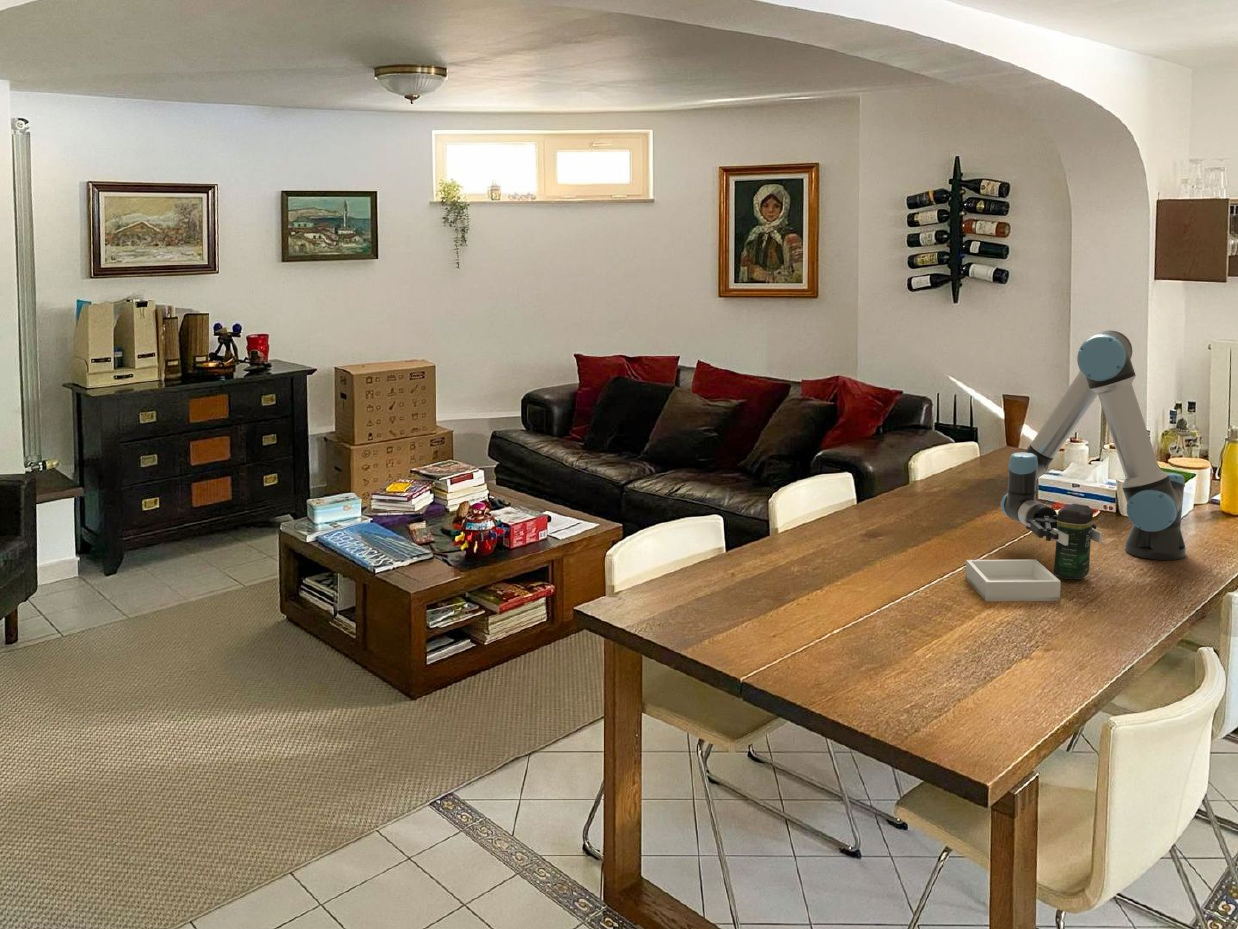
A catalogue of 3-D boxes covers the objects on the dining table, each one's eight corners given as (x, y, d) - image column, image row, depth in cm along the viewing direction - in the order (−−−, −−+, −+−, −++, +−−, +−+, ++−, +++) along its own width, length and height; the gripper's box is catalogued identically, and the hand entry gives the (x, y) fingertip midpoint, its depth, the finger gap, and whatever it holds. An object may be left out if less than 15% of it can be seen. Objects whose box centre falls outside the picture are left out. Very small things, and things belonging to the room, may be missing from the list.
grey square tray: (1034, 577, 281) (1035, 559, 280) (1059, 600, 263) (1060, 581, 262) (965, 578, 282) (966, 560, 281) (985, 601, 264) (986, 582, 263)
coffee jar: (1081, 582, 273) (1085, 512, 269) (1049, 577, 278) (1053, 507, 274) (1093, 573, 280) (1097, 504, 276) (1062, 567, 285) (1066, 500, 281)
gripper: (1073, 527, 296) (1121, 550, 274) (1001, 532, 294) (1043, 556, 272) (1075, 501, 295) (1123, 522, 273) (1002, 506, 292) (1045, 527, 270)
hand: (1083, 539), depth 272 cm, fingers closed on coffee jar, 8 cm apart
